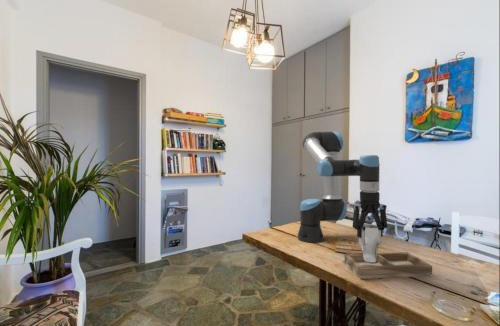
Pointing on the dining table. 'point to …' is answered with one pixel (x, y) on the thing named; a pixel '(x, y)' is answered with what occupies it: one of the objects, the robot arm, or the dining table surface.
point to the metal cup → (370, 243)
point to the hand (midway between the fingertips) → (369, 244)
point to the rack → (388, 266)
